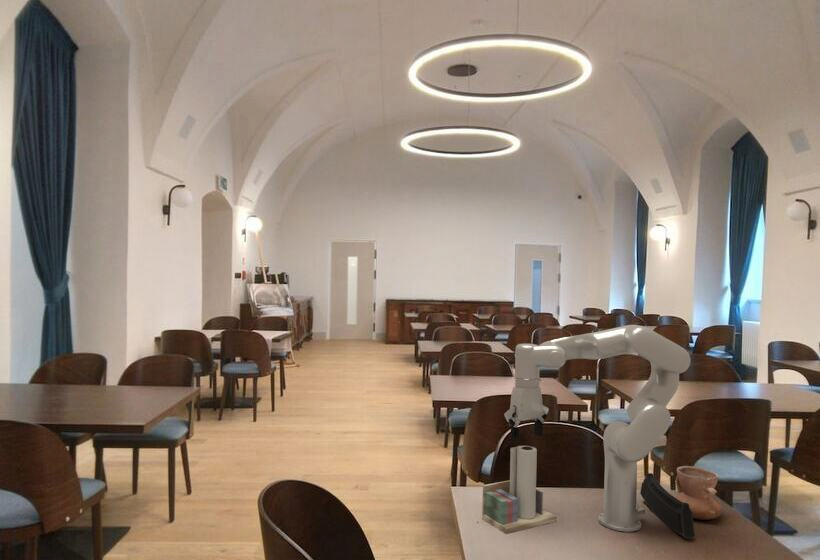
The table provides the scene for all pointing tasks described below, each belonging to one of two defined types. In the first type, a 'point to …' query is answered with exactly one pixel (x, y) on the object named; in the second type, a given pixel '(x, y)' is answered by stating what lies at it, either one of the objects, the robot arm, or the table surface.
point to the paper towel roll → (524, 479)
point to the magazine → (668, 507)
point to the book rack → (510, 509)
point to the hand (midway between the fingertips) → (526, 437)
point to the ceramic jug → (698, 491)
